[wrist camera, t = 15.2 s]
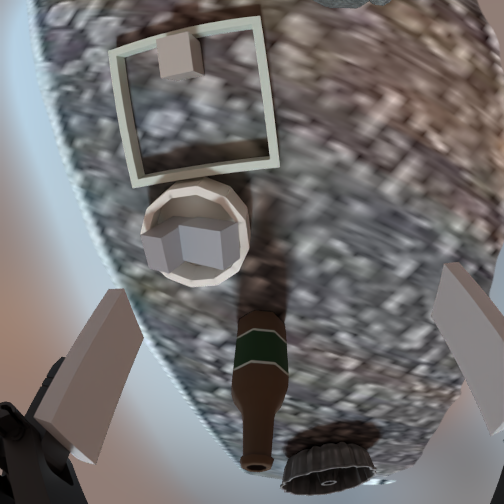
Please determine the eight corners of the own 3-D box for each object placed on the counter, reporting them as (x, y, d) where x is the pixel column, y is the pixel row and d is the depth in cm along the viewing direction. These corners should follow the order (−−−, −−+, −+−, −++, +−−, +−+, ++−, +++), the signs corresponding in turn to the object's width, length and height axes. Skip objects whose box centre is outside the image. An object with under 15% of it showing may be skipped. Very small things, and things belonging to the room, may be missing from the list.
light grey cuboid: (178, 225, 35) (220, 231, 32) (197, 216, 37) (237, 222, 35) (183, 260, 37) (223, 270, 34) (200, 250, 39) (240, 258, 36)
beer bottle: (244, 347, 50) (233, 480, 29) (229, 313, 47) (208, 456, 25) (290, 339, 49) (298, 475, 28) (279, 303, 45) (285, 451, 24)
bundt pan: (388, 443, 69) (394, 471, 60) (321, 474, 79) (323, 499, 71) (332, 424, 62) (336, 460, 53) (260, 458, 72) (259, 488, 64)
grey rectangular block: (173, 215, 39) (140, 234, 34) (193, 218, 37) (160, 238, 33) (179, 247, 41) (149, 268, 36) (199, 250, 39) (169, 273, 35)
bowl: (143, 186, 38) (130, 196, 34) (242, 171, 36) (239, 180, 33) (166, 271, 44) (157, 289, 40) (255, 264, 42) (254, 282, 38)
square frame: (116, 53, 29) (108, 51, 27) (260, 21, 28) (260, 15, 26) (139, 183, 38) (132, 188, 35) (278, 163, 36) (280, 167, 34)
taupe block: (172, 47, 29) (155, 39, 24) (199, 41, 29) (188, 31, 24) (176, 81, 31) (161, 78, 26) (204, 75, 31) (193, 70, 26)
